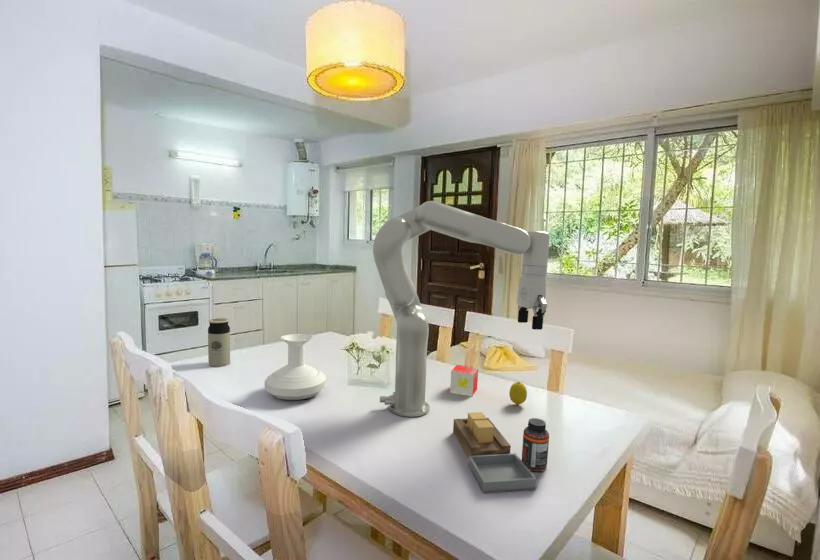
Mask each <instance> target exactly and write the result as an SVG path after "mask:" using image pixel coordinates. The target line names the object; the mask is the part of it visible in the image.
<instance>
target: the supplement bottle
mask: <svg viewBox="0 0 820 560" xmlns="http://www.w3.org/2000/svg"><path fill="white" fill-rule="evenodd" d="M546 428H547V424H546V421H545V420H544V419H541V418H539V417H538V418H535V417H534V418H529V419H528V424H527V426H526V427H525V428H524V429H523V434H522V449H521V460H522V462H523V463H524V464H525V465H526V467H527V468H528V469H529V470H530V472H536V473H538V472H539V473H540V472H543V471H545V470H546V469H547V467H548V457H549V456H548V454H549V444H550V433H549V431H548V430H547V429H546Z"/></svg>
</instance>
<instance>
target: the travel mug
mask: <svg viewBox="0 0 820 560" xmlns="http://www.w3.org/2000/svg"><path fill="white" fill-rule="evenodd" d="M229 322H230V319H229V318H226V317H225V318H224V317H220V318H218V317H216V318H210V319H209V320H208V323H209V326H208V328H207V345H208V346H207V347H208V349H207V350H208V351H207V353H208V359H207V361H208V365H209V366H211V367H217V368H219V367H225V366H228V365H229V364H231V326H229Z"/></svg>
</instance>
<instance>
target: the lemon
mask: <svg viewBox="0 0 820 560" xmlns="http://www.w3.org/2000/svg"><path fill="white" fill-rule="evenodd" d="M509 388H510V389H509V398H510V400H511V402H512V403H514V404H515V405H516V406H519V405H521V404H522V405H523V403H524V402H526V400H527V396H528V391H527V387H526V385H524V384H523V383H522V382H520V381H515V382H514V383H512V384H511V386H510V387H509Z"/></svg>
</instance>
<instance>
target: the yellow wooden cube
mask: <svg viewBox="0 0 820 560" xmlns="http://www.w3.org/2000/svg"><path fill="white" fill-rule="evenodd" d="M493 433H494V427H493V425H492V424H491V423H490V422H489V420H480V421H474V425H473V436H474V438H475V439H476V441H477V442H478V443H486V442H493Z"/></svg>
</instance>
